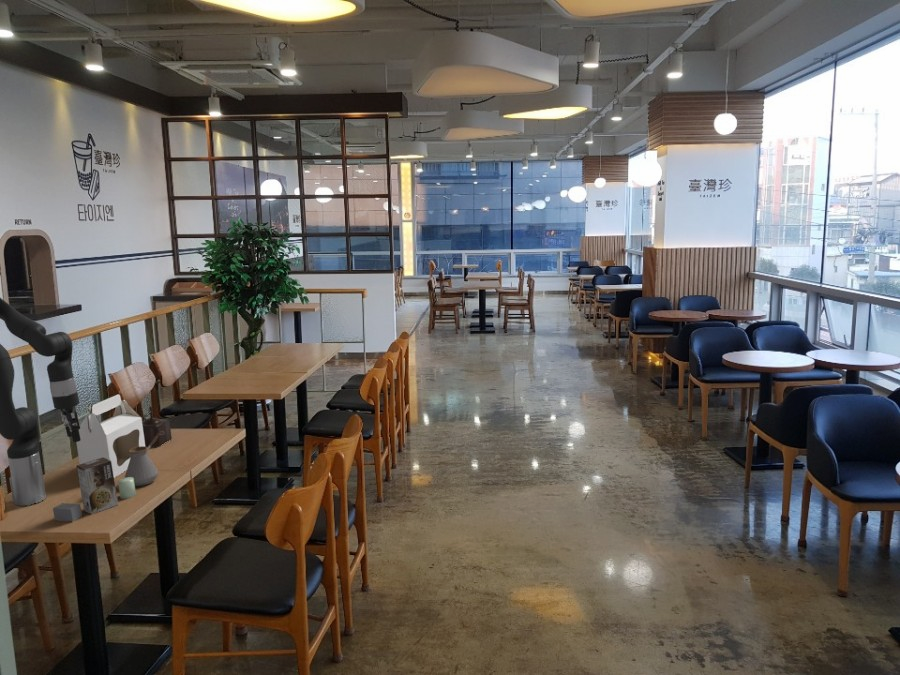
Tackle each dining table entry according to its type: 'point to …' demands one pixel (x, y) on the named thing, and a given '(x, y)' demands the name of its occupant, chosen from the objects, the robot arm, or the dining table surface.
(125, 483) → the sage cylinder
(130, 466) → the coffee pot
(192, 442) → the dining table surface
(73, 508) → the charcoal block
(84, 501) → the coffee box
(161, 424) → the manual coffee grinder
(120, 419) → the gable box
